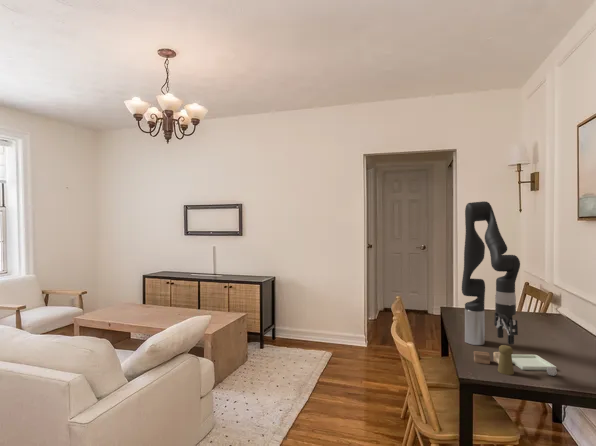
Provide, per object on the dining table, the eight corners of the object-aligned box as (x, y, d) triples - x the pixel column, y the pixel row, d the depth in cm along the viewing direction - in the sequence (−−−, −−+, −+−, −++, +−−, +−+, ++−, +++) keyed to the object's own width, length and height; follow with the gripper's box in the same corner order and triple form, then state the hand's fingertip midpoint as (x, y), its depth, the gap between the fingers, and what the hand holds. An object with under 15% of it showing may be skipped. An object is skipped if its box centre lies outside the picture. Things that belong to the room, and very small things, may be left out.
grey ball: (544, 373, 154) (544, 365, 154) (553, 373, 154) (553, 365, 154) (550, 377, 151) (550, 368, 151) (558, 377, 150) (559, 368, 150)
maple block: (493, 360, 168) (493, 352, 168) (501, 360, 169) (501, 351, 169) (499, 364, 164) (499, 355, 164) (507, 363, 165) (507, 354, 165)
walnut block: (473, 359, 170) (473, 351, 170) (488, 361, 168) (488, 352, 168) (475, 363, 166) (475, 354, 166) (489, 364, 164) (489, 355, 164)
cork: (508, 368, 159) (508, 343, 159) (517, 374, 153) (517, 348, 153) (494, 369, 159) (494, 343, 159) (502, 375, 153) (502, 348, 153)
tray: (505, 357, 172) (505, 354, 172) (536, 358, 171) (536, 354, 171) (522, 370, 158) (522, 366, 158) (556, 370, 157) (556, 366, 157)
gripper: (488, 298, 163) (488, 335, 163) (505, 306, 149) (505, 346, 149) (505, 298, 163) (505, 335, 163) (524, 306, 148) (524, 346, 148)
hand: (505, 340), depth 156 cm, fingers open, 8 cm apart
